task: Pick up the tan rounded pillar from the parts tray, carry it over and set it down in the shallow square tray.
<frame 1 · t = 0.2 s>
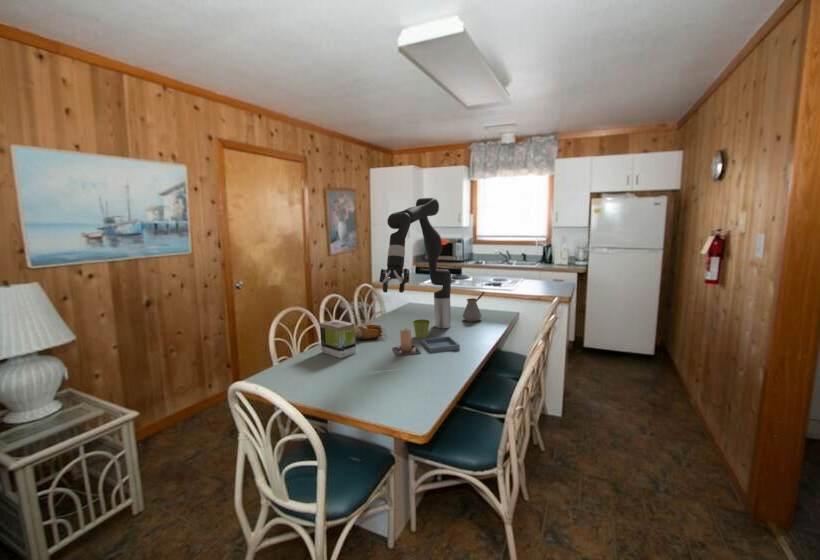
hand: (393, 292, 174), 31 cm above the table, tool tilted 20°, fingers open, 8 cm apart
nautilus: (371, 339, 210), on the table
coffee pot: (476, 318, 244), on the table
shallow square tray: (440, 346, 193), on the table
plant pot: (421, 337, 209), on the table
parts tray: (406, 352, 187), on the table
tan rounded pillar: (406, 351, 187), resting on parts tray
tea box: (338, 353, 189), on the table
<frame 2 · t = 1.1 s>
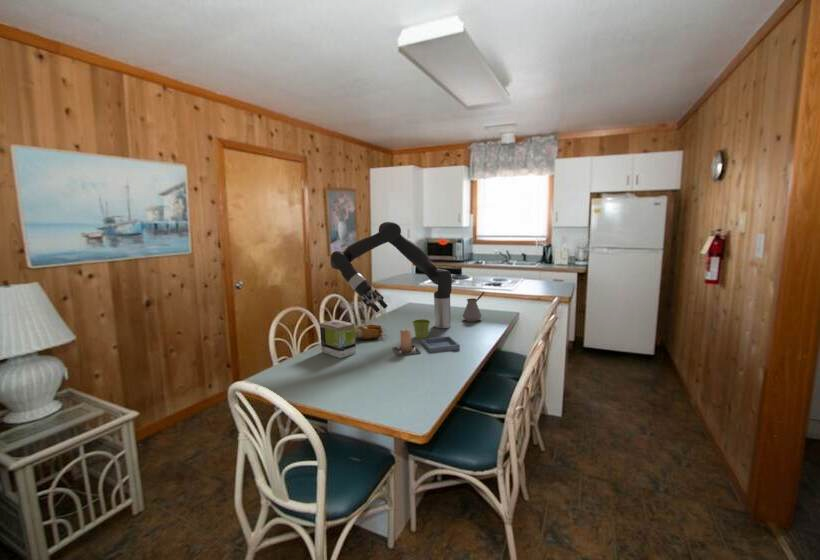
hand: (382, 309, 188), 20 cm above the table, tool tilted 45°, fingers open, 8 cm apart
nothing on the table moved.
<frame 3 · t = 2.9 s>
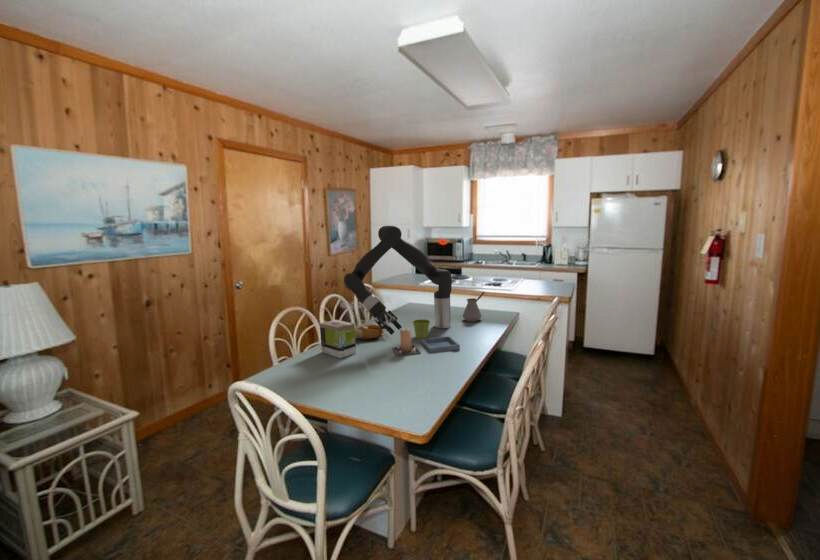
hand: (396, 330, 187), 10 cm above the table, tool tilted 45°, fingers open, 8 cm apart
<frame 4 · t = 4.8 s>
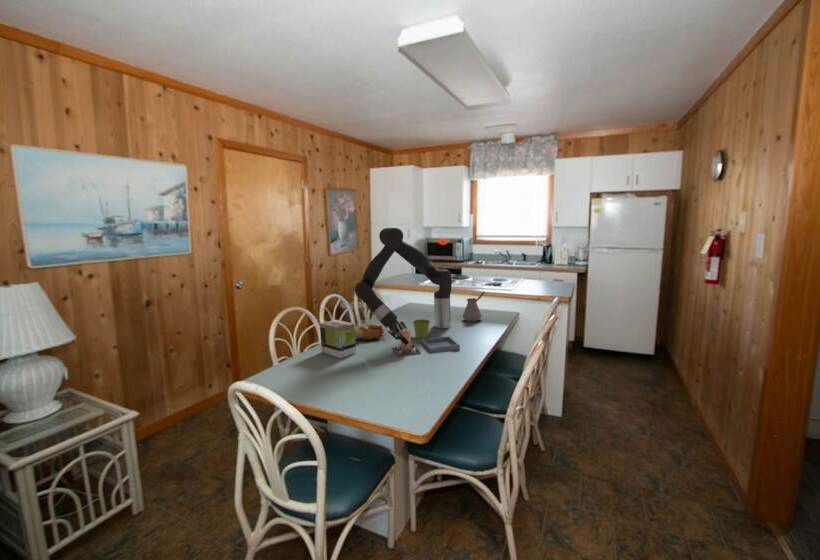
hand: (409, 341, 185), 5 cm above the table, tool tilted 45°, fingers closed on tan rounded pillar, 5 cm apart
tan rounded pillar: (406, 351, 187), point 1 cm above the table, touching gripper, parts tray
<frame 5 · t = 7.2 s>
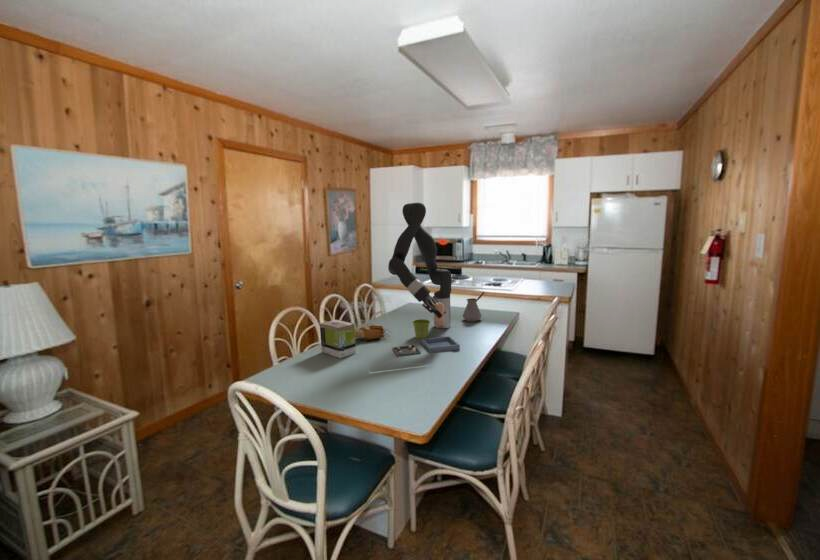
hand: (442, 315, 190), 16 cm above the table, tool tilted 45°, fingers closed on tan rounded pillar, 5 cm apart
tan rounded pillar: (439, 324, 191), point 11 cm above the table, touching gripper
when the fingers open (7 cm above the table, at t = 9.5 s): tan rounded pillar drops 1 cm, resting on shallow square tray.
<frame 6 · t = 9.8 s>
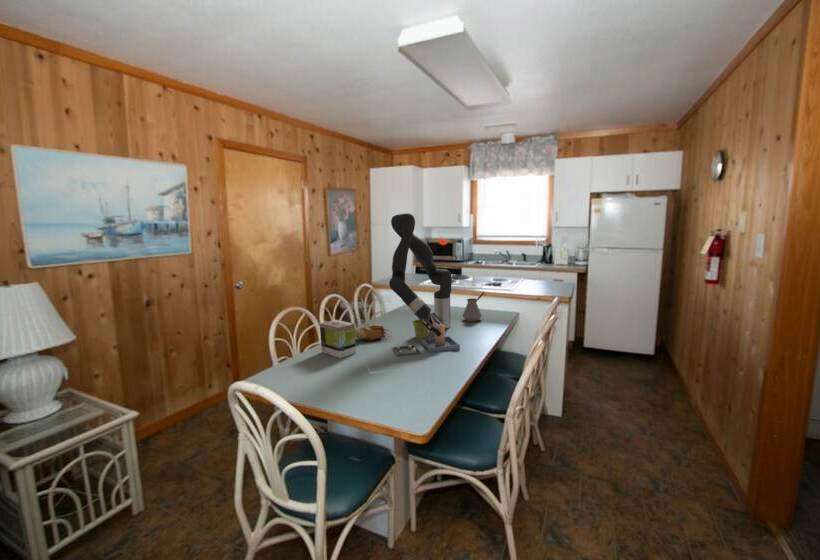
hand: (442, 332, 191), 7 cm above the table, tool tilted 45°, fingers open, 8 cm apart
tan rounded pillar: (440, 345, 193), point 1 cm above the table, touching shallow square tray
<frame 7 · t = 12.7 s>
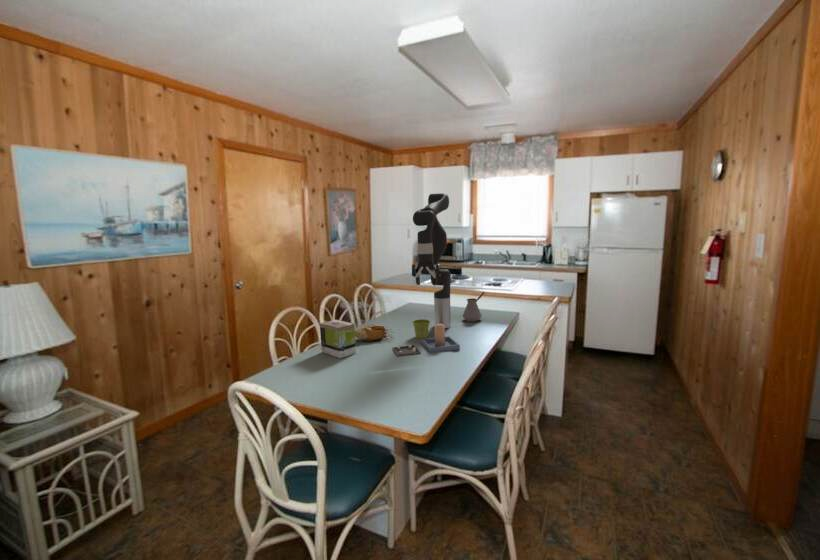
hand: (426, 285, 195), 30 cm above the table, tool pointing down, fingers open, 8 cm apart
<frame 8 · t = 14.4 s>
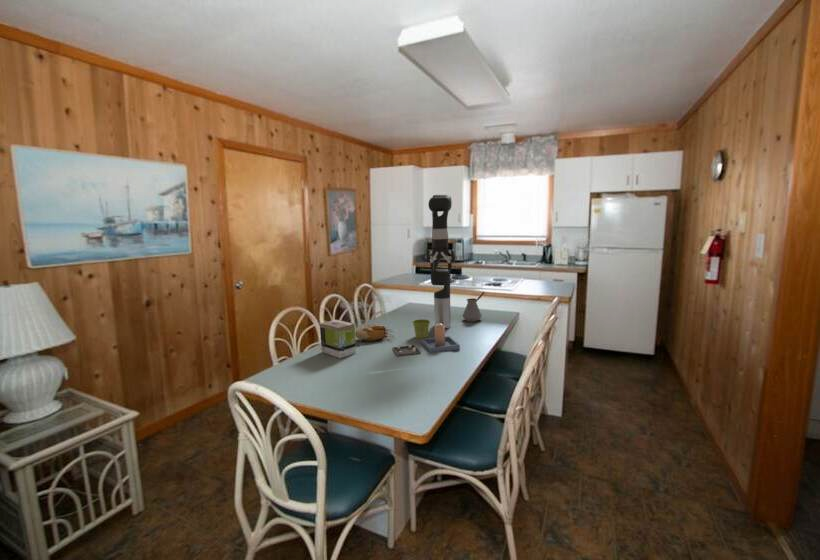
hand: (441, 270, 198), 36 cm above the table, tool pointing down, fingers open, 8 cm apart
at the end: tan rounded pillar inside the target area on the shallow square tray (0.1 cm from its centre), point 0.7 cm above the shallow square tray's base; tan rounded pillar tilted 2°; the gripper is holding nothing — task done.
